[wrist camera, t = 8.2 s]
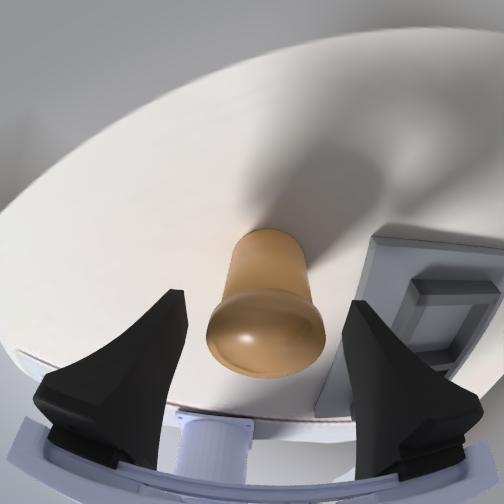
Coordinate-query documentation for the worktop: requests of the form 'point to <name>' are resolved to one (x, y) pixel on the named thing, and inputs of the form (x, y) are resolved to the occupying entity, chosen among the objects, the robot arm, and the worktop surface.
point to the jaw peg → (266, 310)
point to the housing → (423, 306)
